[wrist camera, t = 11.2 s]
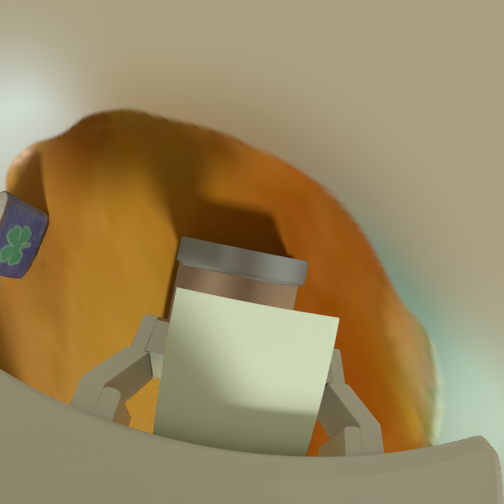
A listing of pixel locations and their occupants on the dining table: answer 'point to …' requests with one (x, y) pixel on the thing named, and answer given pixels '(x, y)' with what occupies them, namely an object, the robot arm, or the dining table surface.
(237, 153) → the dining table surface
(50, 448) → the robot arm
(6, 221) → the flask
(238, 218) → the dining table surface
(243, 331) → the cabinet block
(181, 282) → the display stand
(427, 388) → the dining table surface
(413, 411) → the dining table surface
